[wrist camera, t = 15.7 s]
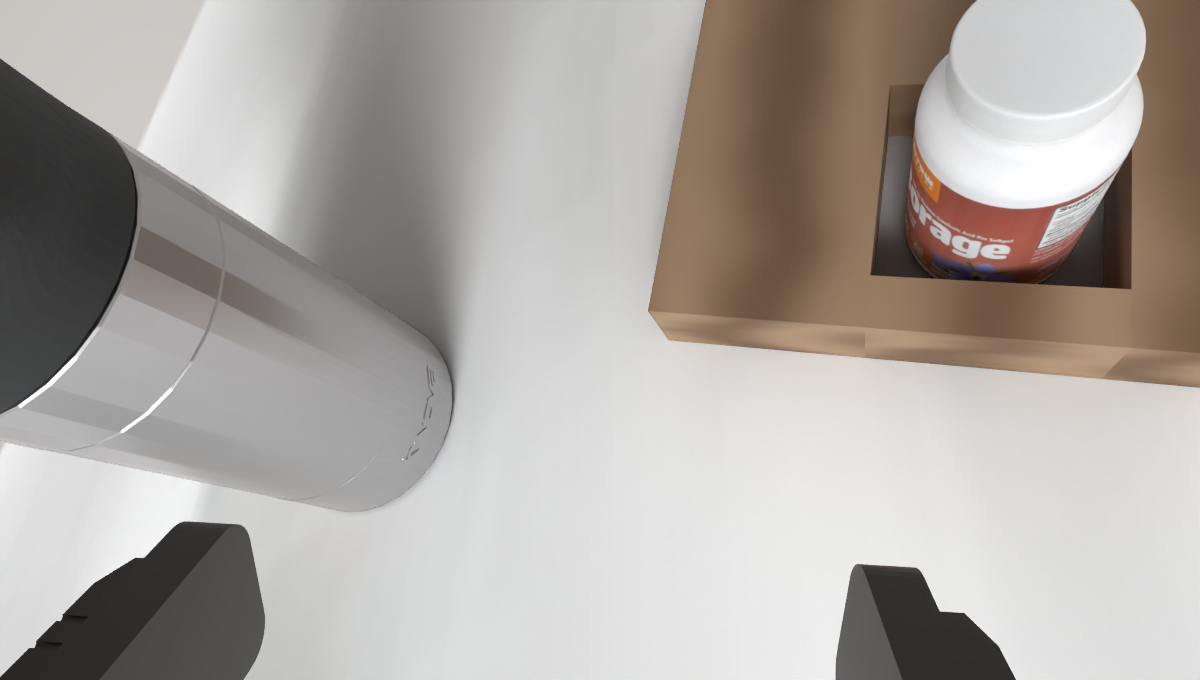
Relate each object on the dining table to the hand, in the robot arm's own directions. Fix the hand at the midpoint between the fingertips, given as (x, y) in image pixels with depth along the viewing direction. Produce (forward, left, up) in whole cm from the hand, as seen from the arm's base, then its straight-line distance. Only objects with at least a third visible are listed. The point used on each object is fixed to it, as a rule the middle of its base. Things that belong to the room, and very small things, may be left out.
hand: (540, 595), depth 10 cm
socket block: (+5, +18, -21) cm, 28 cm away
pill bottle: (+7, +16, -21) cm, 27 cm away
